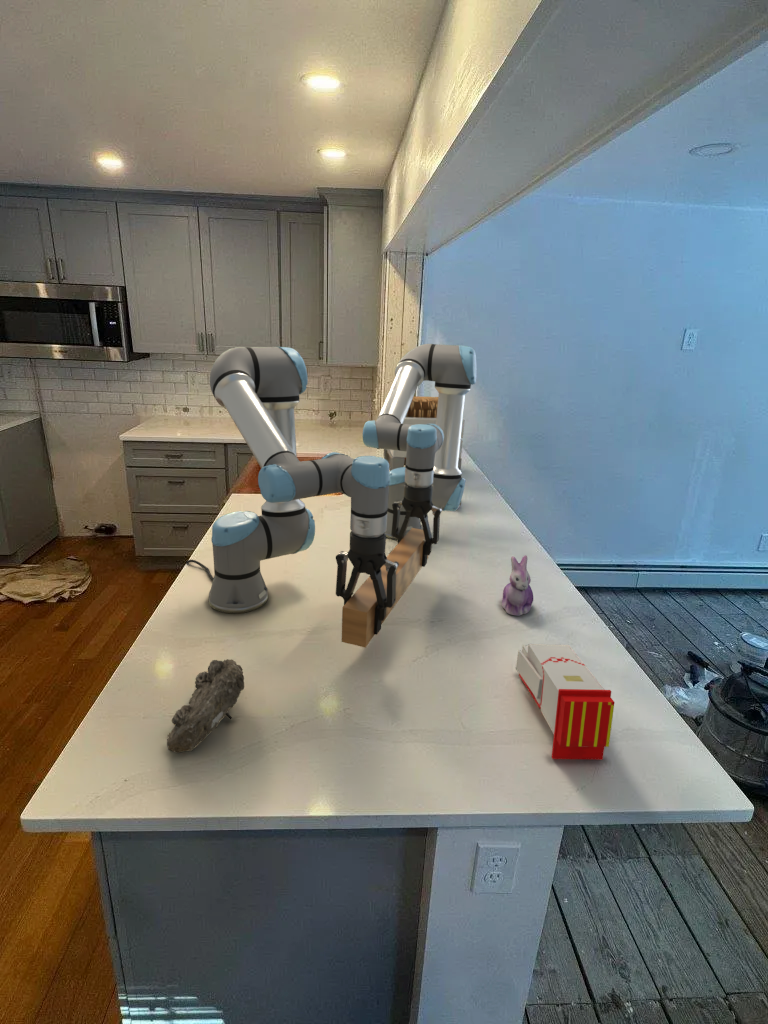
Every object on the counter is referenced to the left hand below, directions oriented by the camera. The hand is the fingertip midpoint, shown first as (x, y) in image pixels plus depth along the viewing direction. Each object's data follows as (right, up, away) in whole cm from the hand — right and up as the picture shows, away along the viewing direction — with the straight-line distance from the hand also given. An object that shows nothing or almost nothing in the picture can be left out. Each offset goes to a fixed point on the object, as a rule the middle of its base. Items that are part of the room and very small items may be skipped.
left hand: (364, 628), depth 125 cm
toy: (+39, -14, -11) cm, 43 cm away
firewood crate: (+22, +44, +150) cm, 158 cm away
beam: (+6, +5, +17) cm, 19 cm away
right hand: (+13, +12, +33) cm, 37 cm away
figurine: (+40, 0, +28) cm, 49 cm away
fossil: (-28, -13, -17) cm, 36 cm away
